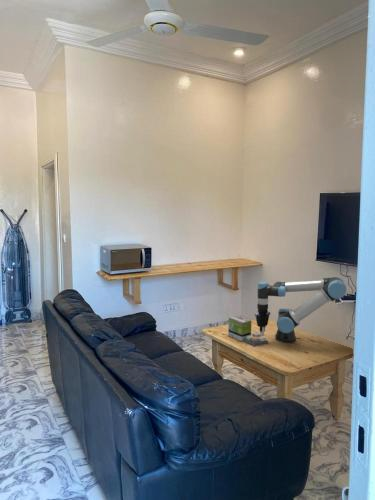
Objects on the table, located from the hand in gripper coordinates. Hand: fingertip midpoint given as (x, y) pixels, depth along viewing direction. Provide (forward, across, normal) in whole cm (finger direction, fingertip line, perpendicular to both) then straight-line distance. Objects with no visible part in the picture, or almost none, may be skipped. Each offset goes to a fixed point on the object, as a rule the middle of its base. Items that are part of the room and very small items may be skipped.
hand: (262, 335), depth 279 cm
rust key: (+4, +6, 0) cm, 8 cm away
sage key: (+5, +6, -6) cm, 10 cm away
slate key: (+4, 0, -6) cm, 7 cm away
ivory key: (+5, 0, 0) cm, 5 cm away
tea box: (+6, +7, -17) cm, 20 cm away
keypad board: (+6, +3, -3) cm, 7 cm away
